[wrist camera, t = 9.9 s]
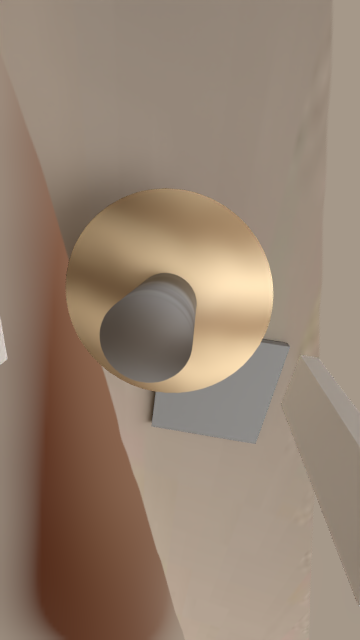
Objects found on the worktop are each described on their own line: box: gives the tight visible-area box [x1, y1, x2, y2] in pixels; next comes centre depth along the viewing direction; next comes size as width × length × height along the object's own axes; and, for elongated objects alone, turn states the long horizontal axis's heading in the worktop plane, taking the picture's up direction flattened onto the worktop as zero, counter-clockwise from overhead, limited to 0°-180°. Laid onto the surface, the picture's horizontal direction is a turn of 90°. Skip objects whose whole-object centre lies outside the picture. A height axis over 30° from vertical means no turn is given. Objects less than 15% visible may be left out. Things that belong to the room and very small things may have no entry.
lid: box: [66, 188, 273, 393], centre depth 16 cm, size 15×15×8 cm
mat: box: [152, 339, 290, 444], centre depth 36 cm, size 17×16×1 cm
